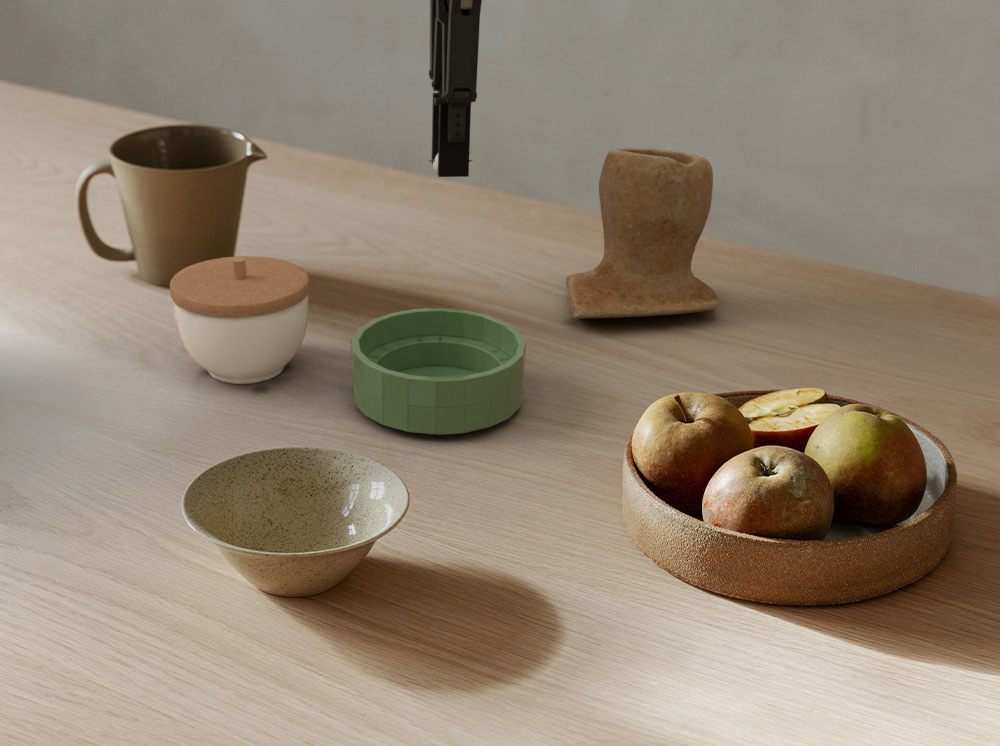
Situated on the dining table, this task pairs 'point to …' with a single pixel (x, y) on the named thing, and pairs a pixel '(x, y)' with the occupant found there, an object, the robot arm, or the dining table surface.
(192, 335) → the lidded sugar bowl
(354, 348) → the green bowl
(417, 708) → the dining table surface
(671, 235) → the stone cup
